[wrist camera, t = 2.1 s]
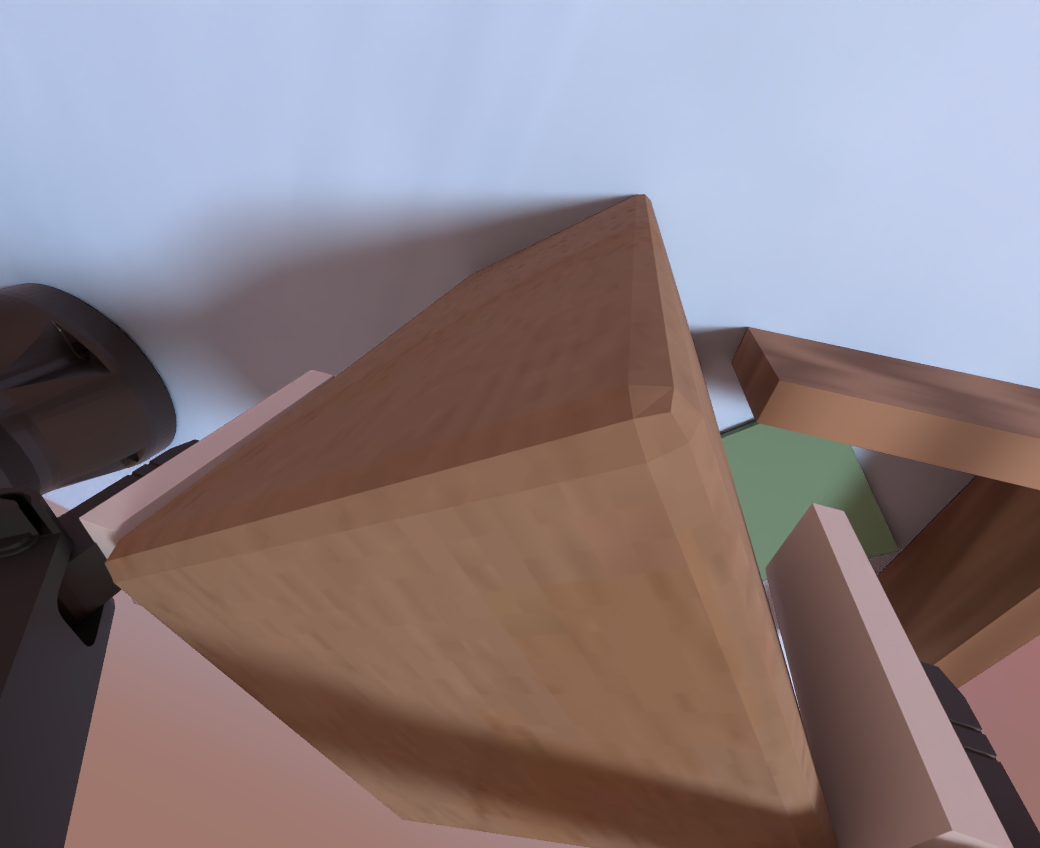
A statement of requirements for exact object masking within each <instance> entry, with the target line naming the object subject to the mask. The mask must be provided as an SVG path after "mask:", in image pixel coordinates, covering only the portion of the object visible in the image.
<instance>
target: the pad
mask: <svg viewBox="0 0 1040 848" xmlns="http://www.w3.org/2000/svg"><path fill="white" fill-rule="evenodd" d="M721 439H722V442H723V446H724V449H725V453H726V456H727V460H728V463H729V467H730V470H731V474H732V477H733V481H734V484H735V488H736V491H737V494H738V498H739V501H740V505H741V508H742V512H743V515H744V519H745V522H746V526H747V529H748V533H749V536H750V540H751V543H752V547H753V550H754V554H755V557H756V561H757V564H758V568H759V571H760V575H761V578H762V581H763V580H767V575H766V571H765V568H766V566H767V565H768V564H769V562H770V561H771V560H772V558H773V557H774V555H775V554H776V553H777V551H778V550H779V548H780V547H781V546H782V544H783V543H784V542H785V540H786V539H787V537H788V536H789V535H790V533H791V532H792V531H793V529H794V528H795V526H796V525H797V524H798V522H799V521H800V519H801V518H802V517H803V515H804V514H805V513H806V511H807V510H808V508H809V507H810V506H811V504H812V503H815V504H819V505H823V506H826V507H830V508H834V509H838V510H841V511H844V512H845V514H846V516H847V518H848V520H849V522H850V524H851V526H852V528H853V530H854V532H855V534H856V536H857V538H858V540H859V542H860V544H861V546H862V548H863V550H864V552H865V554H866V556H867V558H869V557H873V556H878V555H883V554H887V553H892V552H896V551H899V549H898V547H897V545H896V543H895V540H894V538H893V536H892V534H891V532H890V530H889V527H888V525H887V523H886V521H885V519H884V517H883V514H882V512H881V510H880V508H879V506H878V504H877V501H876V499H875V497H874V495H873V493H872V491H871V488H870V486H869V484H868V482H867V480H866V478H865V475H864V473H863V471H862V469H861V467H860V465H859V462H858V460H857V458H856V456H855V454H854V452H853V450H852V447H851V445H848V444H844V443H840V442H835V441H831V440H827V439H823V438H819V437H814V436H810V435H806V434H802V433H797V432H793V431H789V430H785V429H781V428H776V427H772V426H768V425H764V424H760V423H756V421H754V422H752V423H749V424H746V425H744V426H741V427H739V428H736V429H734V430H731V431H728V432H726V433H723V434H721Z"/></svg>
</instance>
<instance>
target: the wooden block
mask: <svg viewBox="0 0 1040 848" xmlns="http://www.w3.org/2000/svg"><path fill="white" fill-rule="evenodd" d="M105 565H106V567H107V569H108V571H109V573H110V575H111V577H112V579H113V582H114V583H115V584H116V585H117V586H118V587H119V588H121V589H122V590H123V591H124V592H125V593H127V594H128V595H129V596H130V597H132V598H133V599H134V600H135V601H136V602H138V603H139V604H140V605H141V606H143V607H144V608H145V609H146V610H148V611H149V612H150V613H151V614H152V615H154V616H155V617H156V618H157V619H159V620H160V621H161V622H162V623H163V624H165V625H166V626H167V627H168V628H170V629H171V630H172V631H173V632H174V633H175V634H177V635H178V636H179V637H181V638H182V639H183V640H184V641H185V642H186V643H188V644H189V645H190V646H191V647H193V648H194V649H195V650H196V651H198V652H199V653H200V654H201V655H202V656H204V657H205V658H206V659H207V660H208V661H210V662H211V663H212V664H213V665H215V666H216V667H217V668H218V669H219V670H221V671H222V672H223V673H224V674H225V675H227V676H228V677H229V678H230V679H232V680H233V681H234V682H235V683H237V684H238V685H239V686H240V687H242V688H243V689H244V690H245V691H246V692H248V693H249V694H250V695H251V696H252V697H254V698H255V699H256V700H257V701H258V702H260V703H261V704H262V705H263V706H264V707H266V708H267V709H268V710H269V711H271V712H272V713H273V714H274V715H275V716H277V717H278V718H279V719H281V720H282V721H283V722H284V723H285V724H286V725H288V726H289V727H290V728H291V729H293V730H294V731H295V732H296V733H298V734H299V735H300V736H301V737H302V738H304V739H305V740H306V741H307V742H308V743H310V744H311V745H312V746H313V747H314V748H316V749H317V750H318V751H319V752H321V753H322V754H323V755H324V756H325V757H327V758H328V759H329V760H331V761H332V762H333V763H334V764H335V765H337V766H338V767H339V768H340V769H341V770H343V771H344V772H345V773H346V774H348V775H349V776H350V777H351V778H352V779H353V780H355V781H356V782H357V783H358V784H360V785H361V786H362V787H363V788H364V789H366V790H367V791H368V792H369V793H371V794H372V795H373V796H374V797H376V798H377V799H378V800H379V801H381V802H382V803H383V804H384V805H385V806H386V807H388V808H389V809H390V810H391V811H393V812H394V813H395V814H396V815H397V816H399V817H400V818H401V819H403V820H410V821H416V822H423V823H430V824H436V825H443V826H450V827H456V828H463V829H470V830H477V831H483V832H490V833H497V834H503V835H510V836H517V837H523V838H530V839H537V840H544V841H551V842H557V843H564V844H570V845H577V846H584V847H591V848H838V842H837V839H836V836H835V832H834V829H833V825H832V822H831V818H830V815H829V811H828V808H827V804H826V801H825V797H824V794H823V790H822V787H821V783H820V780H819V776H818V773H817V769H816V766H815V762H814V759H813V755H812V752H811V749H810V745H809V742H808V738H807V735H806V731H805V728H804V724H803V721H802V717H801V714H800V710H799V707H798V703H797V700H796V696H795V693H794V689H793V686H792V682H791V679H790V675H789V672H788V668H787V665H786V662H785V658H784V655H783V651H782V648H781V644H780V641H779V637H778V634H777V630H776V627H775V623H774V620H773V616H772V613H771V609H770V606H769V602H768V599H767V595H766V592H765V588H764V585H763V581H762V578H761V575H760V571H759V568H758V564H757V561H756V557H755V554H754V550H753V547H752V543H751V540H750V536H749V533H748V529H747V526H746V522H745V519H744V515H743V512H742V508H741V505H740V501H739V498H738V494H737V491H736V488H735V484H734V481H733V477H732V474H731V470H730V467H729V463H728V460H727V456H726V453H725V449H724V446H723V442H722V439H721V435H720V432H719V428H718V425H717V421H716V418H715V414H714V411H713V407H712V404H711V401H710V397H709V394H708V390H707V387H706V383H705V380H704V376H703V373H702V369H701V366H700V363H699V359H698V356H697V353H696V349H695V346H694V343H693V339H692V336H691V333H690V330H689V326H688V323H687V320H686V316H685V313H684V310H683V306H682V303H681V300H680V296H679V293H678V290H677V286H676V283H675V280H674V276H673V273H672V270H671V266H670V263H669V260H668V256H667V253H666V250H665V247H664V243H663V240H662V237H661V233H660V230H659V227H658V223H657V220H656V217H655V213H654V210H653V207H652V203H651V201H650V199H649V198H648V197H647V196H646V195H645V194H642V195H635V196H633V197H631V198H629V199H627V200H624V201H622V202H620V203H618V204H616V205H614V206H612V207H610V208H608V209H606V210H604V211H602V212H600V213H598V214H596V215H594V216H592V217H589V218H587V219H585V220H583V221H581V222H579V223H577V224H575V225H573V226H571V227H569V228H567V229H565V230H563V231H561V232H559V233H557V234H554V235H552V236H550V237H548V238H546V239H544V240H542V241H540V242H538V243H536V244H534V245H532V246H530V247H528V248H526V249H524V250H522V251H519V252H517V253H515V254H513V255H511V256H509V257H507V258H505V259H503V260H501V261H499V262H497V263H495V264H493V265H491V266H489V267H487V268H484V269H482V270H480V271H478V272H476V273H474V274H472V275H470V276H469V277H468V278H466V279H465V280H464V281H462V282H461V283H460V284H458V285H457V286H456V287H454V288H453V289H452V290H450V291H449V292H448V293H446V294H445V295H444V296H442V297H441V298H440V299H438V300H437V301H436V302H434V303H433V304H432V305H431V306H429V307H428V308H427V309H425V310H424V311H423V312H421V313H420V314H419V315H417V316H416V317H415V318H413V319H412V320H411V321H409V322H408V323H407V324H405V325H404V326H403V327H401V328H400V329H399V330H397V331H396V332H395V333H393V334H392V335H391V336H389V337H388V338H387V339H385V340H384V341H383V342H381V343H380V344H379V345H377V346H376V347H375V348H373V349H372V350H371V351H369V352H368V353H367V354H366V355H364V356H363V357H362V358H360V359H359V360H358V361H356V362H355V363H354V364H352V365H351V366H350V367H348V368H347V369H346V370H344V371H343V372H342V373H340V374H339V375H338V376H336V377H335V378H334V379H332V380H331V381H330V382H328V383H327V384H326V385H324V386H323V387H322V388H320V389H319V390H318V391H316V392H315V393H314V394H312V395H311V396H310V397H308V398H307V399H306V400H304V401H303V402H302V403H301V404H299V405H298V406H297V407H295V408H294V409H293V410H291V411H290V412H289V413H287V414H286V415H285V416H283V417H282V418H281V419H279V420H278V421H277V422H275V423H274V424H273V425H271V426H270V427H269V428H267V429H266V430H265V431H263V432H262V433H261V434H259V435H258V436H257V437H255V438H254V439H253V440H251V441H250V442H249V443H247V444H246V445H245V446H243V447H242V448H241V449H239V450H238V451H237V452H236V453H234V454H233V455H232V456H230V457H229V458H228V459H226V460H225V461H224V462H222V463H221V464H220V465H218V466H217V467H216V468H214V469H213V470H212V471H210V472H209V473H208V474H206V475H205V476H204V477H202V478H201V479H200V480H198V481H197V482H196V483H194V484H193V485H192V486H190V487H189V488H188V489H186V490H185V491H184V492H182V493H181V494H180V495H178V496H177V497H176V498H174V499H173V500H172V501H171V502H169V503H168V504H167V505H165V506H164V507H163V508H161V509H160V510H159V511H157V512H156V513H155V514H153V515H152V516H151V517H149V518H148V519H147V520H145V521H144V522H143V523H141V524H140V525H139V526H137V527H136V528H135V529H133V530H132V531H131V532H129V533H128V534H127V535H125V536H124V537H123V538H121V539H120V540H119V542H118V543H117V545H116V546H115V548H114V549H113V551H112V553H111V554H110V556H109V557H108V559H107V560H106V562H105Z"/></svg>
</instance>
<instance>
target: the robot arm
mask: <svg viewBox="0 0 1040 848" xmlns="http://www.w3.org/2000/svg"><path fill="white" fill-rule="evenodd" d="M332 379H334V375H331V374H327V373H323V372H320V371H316V370H312V369H311V370H310V371H308V372H307V373H305V374H304V375H302V376H300V377H299V378H297V379H296V380H294V381H293V382H291V383H289V384H288V385H286V386H285V387H283V388H282V389H280V390H279V391H277V392H275V393H274V394H272V395H271V396H269V397H268V398H266V399H264V400H263V401H261V402H260V403H258V404H257V405H255V406H253V407H252V408H250V409H249V410H247V411H246V412H244V413H243V414H241V415H239V416H238V417H236V418H235V419H233V420H232V421H230V422H228V423H227V424H225V425H224V426H222V427H221V428H219V429H217V430H216V431H214V432H213V433H211V434H210V435H208V436H206V437H205V438H203V439H202V440H200V441H198V440H192V441H190V442H187V443H184V444H182V445H179V446H176V447H173V448H171V449H169V450H167V451H166V452H164V453H162V454H161V455H159V456H158V457H156V458H154V459H153V460H151V461H149V462H150V463H149V464H148V465H147V464H145V465H143V466H141V467H140V468H138V469H136V470H135V471H133V472H132V475H127V476H125V477H123V478H122V479H120V480H119V481H117V482H115V483H114V484H112V485H110V486H109V487H107V488H106V489H104V490H102V491H101V492H99V493H98V494H96V495H94V496H93V497H91V498H89V499H88V500H86V501H85V502H83V503H81V504H80V505H78V506H76V507H75V508H73V509H72V510H70V511H68V512H67V513H66V514H63V515H61V516H60V517H58V518H57V517H56V516H55V514H54V513H53V511H52V510H51V509H50V507H49V506H48V504H47V503H46V501H45V500H44V499H43V497H42V495H43V494H45V493H48V492H50V491H53V490H56V489H59V488H62V487H66V486H69V485H72V484H75V483H79V482H82V481H85V480H89V479H92V478H96V477H99V476H102V475H106V474H109V473H112V472H116V471H119V470H122V469H125V468H129V467H132V466H135V465H138V464H140V463H142V462H144V461H146V460H148V459H149V458H151V457H152V456H154V455H156V454H157V453H159V452H160V451H162V450H164V449H165V448H167V447H168V446H169V445H170V444H171V442H172V441H173V439H174V436H175V433H176V415H175V410H174V407H173V404H172V401H171V398H170V396H169V393H168V391H167V389H166V387H165V385H164V383H163V382H162V380H161V378H160V377H159V375H158V373H157V372H156V370H155V369H154V367H153V366H152V365H151V363H150V362H149V361H148V359H147V358H146V357H145V355H144V354H143V353H142V352H141V351H140V350H139V348H138V347H137V346H136V345H135V344H134V343H133V342H132V341H131V340H130V339H129V338H128V337H127V336H126V335H125V334H124V333H123V332H122V331H121V330H120V329H119V328H118V327H117V326H115V325H114V324H113V323H112V322H111V321H110V320H108V319H107V318H106V317H105V316H103V315H102V314H100V313H99V312H98V311H96V310H95V309H93V308H92V307H90V306H89V305H87V304H86V303H84V302H82V301H81V300H79V299H77V298H75V297H73V296H71V295H69V294H67V293H65V292H63V291H60V290H58V289H55V288H52V287H48V286H44V285H39V284H21V285H16V286H12V287H8V288H3V289H0V848H64V844H65V840H66V835H67V830H68V826H69V821H70V816H71V811H72V806H73V802H74V797H75V793H76V788H77V784H78V779H79V773H80V770H81V765H82V760H83V755H84V751H85V746H86V741H87V737H88V732H89V727H90V723H91V718H92V713H93V709H94V704H95V699H96V695H97V690H98V685H99V681H100V676H101V671H102V667H103V662H104V657H105V653H106V648H107V643H108V638H109V634H110V629H111V624H112V620H113V615H114V610H115V603H114V599H113V598H112V597H113V596H114V595H115V594H117V593H118V592H119V591H120V590H121V588H119V587H118V586H117V585H116V584H115V583H114V582H113V579H112V577H111V575H110V573H109V571H108V569H107V567H106V565H105V562H106V560H107V559H108V557H109V556H110V554H111V553H112V551H113V549H114V548H115V546H116V545H117V543H118V542H119V540H120V539H121V538H123V537H124V536H125V535H127V534H128V533H129V532H131V531H132V530H133V529H135V528H136V527H137V526H139V525H140V524H141V523H143V522H144V521H145V520H147V519H148V518H149V517H151V516H152V515H153V514H155V513H156V512H157V511H159V510H160V509H161V508H163V507H164V506H165V505H167V504H168V503H169V502H171V501H172V500H173V499H174V498H176V497H177V496H178V495H180V494H181V493H182V492H184V491H185V490H186V489H188V488H189V487H190V486H192V485H193V484H194V483H196V482H197V481H198V480H200V479H201V478H202V477H204V476H205V475H206V474H208V473H209V472H210V471H212V470H213V469H214V468H216V467H217V466H218V465H220V464H221V463H222V462H224V461H225V460H226V459H228V458H229V457H230V456H232V455H233V454H234V453H236V452H237V451H238V450H239V449H241V448H242V447H243V446H245V445H246V444H247V443H249V442H250V441H251V440H253V439H254V438H255V437H257V436H258V435H259V434H261V433H262V432H263V431H265V430H266V429H267V428H269V427H270V426H271V425H273V424H274V423H275V422H277V421H278V420H279V419H281V418H282V417H283V416H285V415H286V414H287V413H289V412H290V411H291V410H293V409H294V408H295V407H297V406H298V405H299V404H301V403H302V402H303V401H304V400H306V399H307V398H308V397H310V396H311V395H312V394H314V393H315V392H316V391H318V390H319V389H320V388H322V387H323V386H324V385H326V384H327V383H328V382H330V381H331V380H332ZM765 571H766V575H767V579H768V583H769V587H770V591H771V595H772V599H773V603H774V607H775V611H776V615H777V619H778V624H779V628H780V632H781V636H782V640H783V644H784V648H785V652H786V656H787V660H788V664H789V668H790V672H791V676H792V680H793V684H794V688H795V692H796V696H797V700H798V704H799V708H800V712H801V716H802V720H803V724H804V728H805V731H806V735H807V738H808V742H809V745H810V749H811V752H812V755H813V759H814V762H815V766H816V769H817V773H818V776H819V780H820V783H821V787H822V790H823V794H824V797H825V801H826V804H827V808H828V811H829V815H830V818H831V822H832V825H833V829H834V832H835V836H836V839H837V842H838V848H1040V833H1039V831H1038V829H1037V827H1036V826H1035V824H1034V822H1033V820H1032V818H1031V816H1030V815H1029V813H1028V811H1027V809H1026V807H1025V805H1024V804H1023V802H1022V800H1021V798H1020V796H1019V795H1018V793H1017V791H1016V789H1015V787H1014V786H1013V784H1012V782H1011V780H1010V778H1009V777H1008V775H1007V773H1006V771H1005V769H1004V768H1003V766H1002V764H1001V762H998V761H997V760H996V753H995V751H994V750H993V748H992V746H991V744H990V742H989V740H988V739H987V737H986V735H984V734H982V732H981V729H982V728H981V726H980V724H979V722H978V720H977V719H976V717H975V715H974V713H973V711H972V710H971V708H970V706H969V704H968V703H967V701H966V699H965V697H964V696H963V695H962V694H961V693H960V691H959V690H958V689H957V688H956V687H955V685H954V684H953V683H952V682H951V681H950V680H949V679H948V677H947V676H946V675H945V674H944V673H943V672H942V670H941V669H940V668H939V667H937V666H934V665H931V664H927V663H924V662H921V661H919V659H918V657H917V655H916V653H915V651H914V649H913V647H912V645H911V643H910V641H909V639H908V637H907V635H906V633H905V631H904V629H903V628H902V626H901V624H900V622H899V620H898V618H897V616H896V614H895V612H894V610H893V608H892V606H891V604H890V602H889V600H888V598H887V596H886V594H885V592H884V590H883V588H882V586H881V584H880V582H879V580H878V578H877V576H876V574H875V572H874V570H873V568H872V566H871V564H870V562H869V560H868V558H867V556H866V554H865V552H864V550H863V548H862V546H861V544H860V542H859V540H858V538H857V536H856V534H855V532H854V530H853V528H852V526H851V524H850V522H849V520H848V518H847V516H846V514H845V512H844V511H841V510H838V509H834V508H830V507H826V506H823V505H819V504H815V503H812V504H811V506H810V507H809V508H808V510H807V511H806V513H805V514H804V515H803V517H802V518H801V519H800V521H799V522H798V524H797V525H796V526H795V528H794V529H793V531H792V532H791V533H790V535H789V536H788V537H787V539H786V540H785V542H784V543H783V544H782V546H781V547H780V548H779V550H778V551H777V553H776V554H775V555H774V557H773V558H772V560H771V561H770V562H769V564H768V565H767V566H766V568H765ZM131 599H132V600H133V602H134V603H135V604H138V605H140V604H139V603H138V602H136V601H135V600H134V599H133V598H132V597H131ZM140 606H141V605H140Z"/></svg>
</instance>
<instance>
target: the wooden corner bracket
mask: <svg viewBox="0 0 1040 848" xmlns="http://www.w3.org/2000/svg"><path fill="white" fill-rule="evenodd" d="M732 365H733V368H734V370H735V372H736V375H737V377H738V380H739V382H740V384H741V387H742V389H743V392H744V394H745V397H746V399H747V401H748V404H749V406H750V409H751V411H752V413H753V416H754V418H755V421H756V423H760V424H764V425H768V426H772V427H776V428H781V429H785V430H789V431H793V432H797V433H802V434H806V435H810V436H814V437H819V438H823V439H827V440H831V441H835V442H840V443H844V444H848V445H852V446H856V447H861V448H865V449H869V450H873V451H877V452H882V453H886V454H890V455H894V456H899V457H903V458H907V459H911V460H915V461H920V462H924V463H928V464H932V465H936V466H941V467H945V468H949V469H953V470H957V471H962V472H966V473H970V474H974V475H977V476H976V477H975V478H974V479H973V480H972V481H971V482H970V483H969V484H968V485H967V486H966V487H965V488H964V489H963V490H962V491H961V492H960V493H959V494H958V495H957V496H956V497H955V498H954V499H953V500H952V501H951V502H950V503H949V504H948V505H947V506H946V507H945V508H944V509H943V510H942V511H941V512H940V513H939V515H938V516H937V517H936V518H935V519H934V520H933V521H932V522H931V523H930V524H929V525H928V526H927V527H926V528H925V529H924V530H923V531H922V532H921V533H920V534H919V535H918V536H917V537H916V538H915V539H914V540H913V541H912V542H911V543H910V544H909V545H908V546H907V547H906V548H905V549H904V550H903V551H902V552H901V553H900V554H899V555H898V556H897V557H896V558H895V559H894V560H893V561H892V562H891V563H890V564H889V565H888V566H887V567H886V568H885V569H884V570H883V571H882V572H881V573H880V574H879V575H878V576H877V578H878V580H879V582H880V584H881V586H882V588H883V590H884V592H885V594H886V596H887V598H888V600H889V602H890V604H891V606H892V608H893V610H894V612H895V614H896V616H897V618H898V620H899V622H900V624H901V626H902V628H903V629H904V631H905V633H906V635H907V637H908V639H909V641H910V643H911V645H912V647H913V649H914V651H915V653H916V655H917V657H918V659H919V661H921V662H924V663H927V664H931V665H934V666H937V667H939V668H940V669H941V670H942V672H943V673H944V674H945V675H946V676H947V677H948V679H949V680H950V681H951V682H952V683H953V684H954V685H955V687H956V688H957V689H958V688H959V687H960V686H962V685H964V684H965V683H966V682H968V681H970V680H971V679H973V678H974V677H976V676H977V675H979V674H980V673H982V672H983V671H985V670H986V669H988V668H990V667H991V666H993V665H994V664H996V663H997V662H999V661H1000V660H1002V659H1003V658H1005V657H1006V656H1008V655H1009V654H1011V653H1012V652H1014V651H1016V650H1017V649H1018V648H1020V647H1022V646H1023V645H1025V644H1026V643H1028V642H1029V641H1031V640H1032V639H1034V638H1035V637H1037V636H1039V635H1040V389H1037V388H1032V387H1028V386H1023V385H1018V384H1013V383H1009V382H1004V381H999V380H995V379H990V378H985V377H981V376H976V375H971V374H966V373H962V372H957V371H952V370H948V369H943V368H938V367H934V366H929V365H924V364H920V363H915V362H910V361H905V360H901V359H896V358H891V357H887V356H882V355H877V354H873V353H868V352H863V351H858V350H854V349H849V348H844V347H840V346H835V345H830V344H826V343H821V342H816V341H812V340H807V339H802V338H797V337H793V336H788V335H783V334H779V333H774V332H769V331H765V330H760V329H755V328H750V327H748V329H747V331H746V333H745V335H744V337H743V339H742V341H741V344H740V346H739V348H738V350H737V352H736V354H735V356H734V359H733V361H732Z"/></svg>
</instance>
